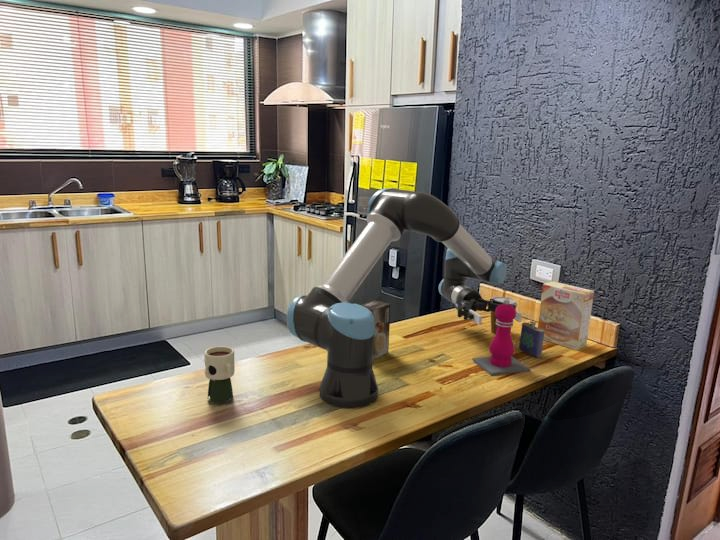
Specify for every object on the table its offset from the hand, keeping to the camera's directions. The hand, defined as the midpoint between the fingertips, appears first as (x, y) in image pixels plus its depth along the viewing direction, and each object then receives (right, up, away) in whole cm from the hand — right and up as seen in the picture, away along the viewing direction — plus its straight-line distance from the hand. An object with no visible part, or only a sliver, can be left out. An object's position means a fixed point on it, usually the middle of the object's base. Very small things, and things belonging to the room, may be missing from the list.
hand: (500, 319), depth 165 cm
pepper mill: (0, -13, 0) cm, 13 cm away
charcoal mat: (0, -14, 0) cm, 14 cm away
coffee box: (-39, -12, +5) cm, 41 cm away
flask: (+12, -12, +11) cm, 20 cm away
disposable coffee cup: (+7, -8, +29) cm, 31 cm away
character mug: (-77, -18, -28) cm, 84 cm away
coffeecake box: (+26, -10, +22) cm, 36 cm away
